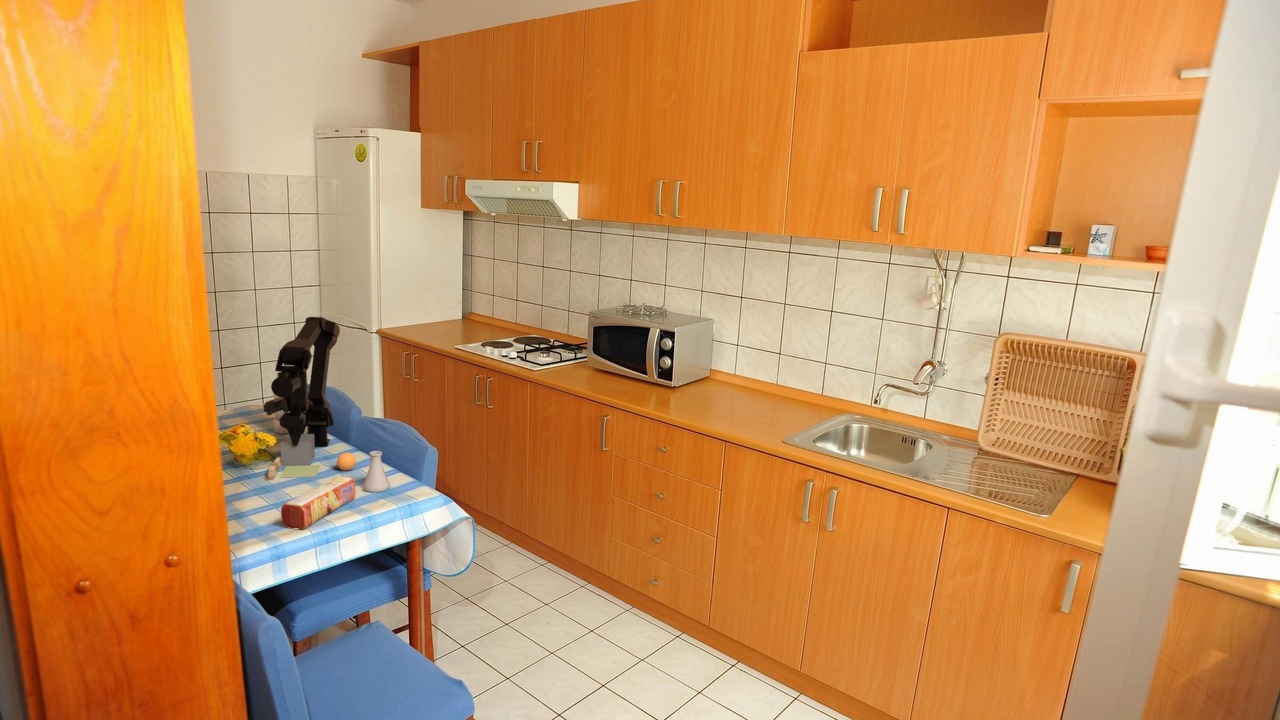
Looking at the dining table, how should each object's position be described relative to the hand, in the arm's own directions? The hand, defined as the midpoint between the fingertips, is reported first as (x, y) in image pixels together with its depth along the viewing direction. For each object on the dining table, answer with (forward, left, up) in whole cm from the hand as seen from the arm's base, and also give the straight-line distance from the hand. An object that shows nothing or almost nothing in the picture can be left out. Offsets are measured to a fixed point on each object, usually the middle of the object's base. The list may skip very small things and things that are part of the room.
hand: (298, 440), depth 212 cm
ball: (+9, +14, -4) cm, 17 cm away
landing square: (+9, +2, -6) cm, 11 cm away
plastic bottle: (-29, -9, -6) cm, 31 cm away
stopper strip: (+9, -5, -6) cm, 12 cm away
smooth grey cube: (0, 0, -6) cm, 6 cm away
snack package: (+39, +11, -7) cm, 41 cm away
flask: (+24, +23, -6) cm, 34 cm away
